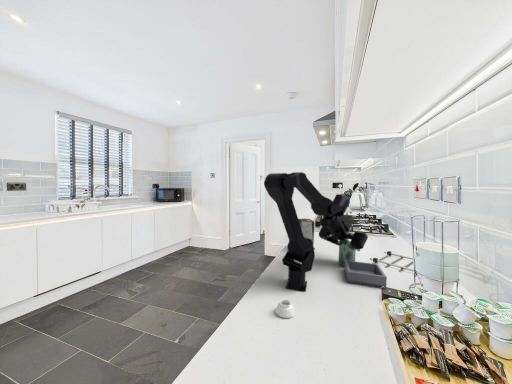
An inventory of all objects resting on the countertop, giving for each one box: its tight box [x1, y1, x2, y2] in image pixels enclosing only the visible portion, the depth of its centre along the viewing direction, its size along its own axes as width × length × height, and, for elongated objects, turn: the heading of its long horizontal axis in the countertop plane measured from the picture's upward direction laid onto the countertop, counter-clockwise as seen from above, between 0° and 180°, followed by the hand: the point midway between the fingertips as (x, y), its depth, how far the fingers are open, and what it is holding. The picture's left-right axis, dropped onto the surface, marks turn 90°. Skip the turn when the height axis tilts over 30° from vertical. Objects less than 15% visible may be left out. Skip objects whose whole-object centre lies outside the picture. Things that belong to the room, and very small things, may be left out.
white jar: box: [275, 299, 296, 319], centre depth 56 cm, size 5×3×5 cm
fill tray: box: [344, 260, 388, 289], centre depth 76 cm, size 12×12×4 cm
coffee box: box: [298, 218, 315, 248], centre depth 104 cm, size 9×6×16 cm
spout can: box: [338, 230, 357, 269], centre depth 88 cm, size 6×6×16 cm
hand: (348, 247), depth 89 cm, fingers open, 9 cm apart
